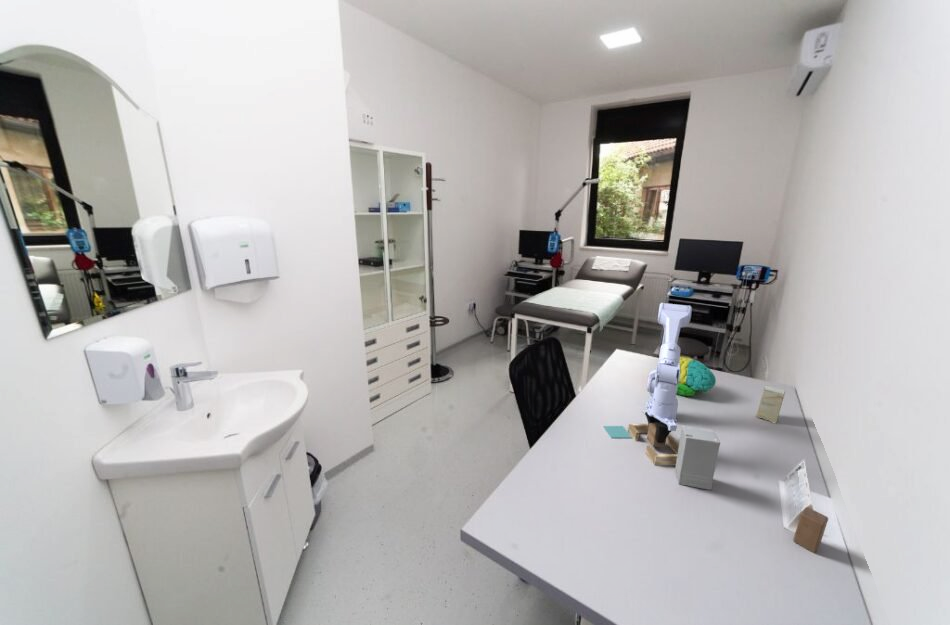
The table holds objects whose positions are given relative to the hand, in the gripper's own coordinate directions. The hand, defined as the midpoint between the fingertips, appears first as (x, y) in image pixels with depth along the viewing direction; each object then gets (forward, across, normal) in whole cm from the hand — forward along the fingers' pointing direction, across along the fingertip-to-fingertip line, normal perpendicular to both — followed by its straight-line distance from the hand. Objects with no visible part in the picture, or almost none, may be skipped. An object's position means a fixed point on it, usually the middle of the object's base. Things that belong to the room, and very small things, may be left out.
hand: (656, 438), depth 119 cm
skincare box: (+3, +16, +2) cm, 17 cm away
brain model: (+4, -41, +34) cm, 53 cm away
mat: (+3, -8, -9) cm, 13 cm away
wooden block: (+3, +37, +16) cm, 41 cm away
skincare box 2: (+4, -17, +53) cm, 56 cm away
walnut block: (+2, 0, 0) cm, 2 cm away
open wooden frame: (+3, 0, 0) cm, 3 cm away
